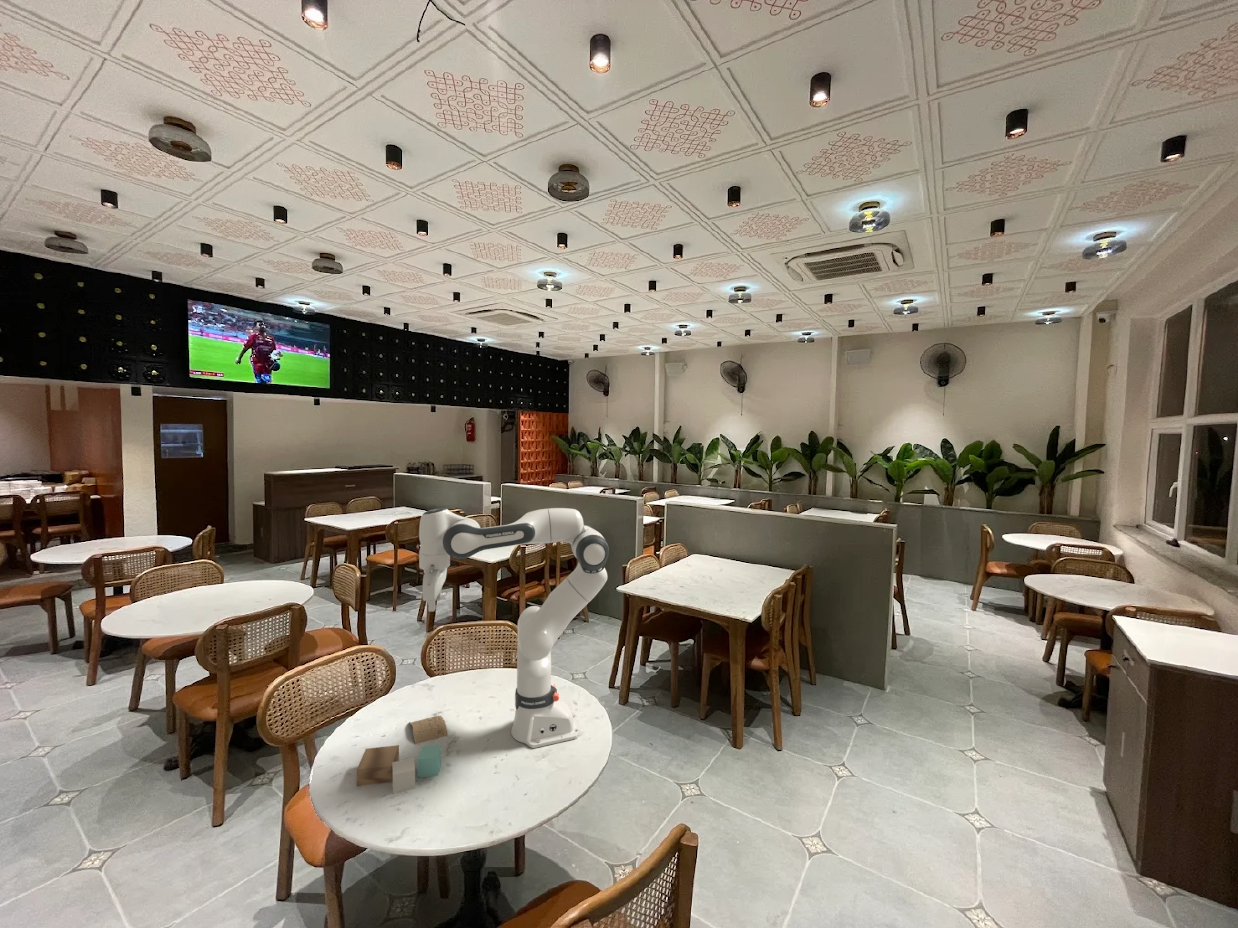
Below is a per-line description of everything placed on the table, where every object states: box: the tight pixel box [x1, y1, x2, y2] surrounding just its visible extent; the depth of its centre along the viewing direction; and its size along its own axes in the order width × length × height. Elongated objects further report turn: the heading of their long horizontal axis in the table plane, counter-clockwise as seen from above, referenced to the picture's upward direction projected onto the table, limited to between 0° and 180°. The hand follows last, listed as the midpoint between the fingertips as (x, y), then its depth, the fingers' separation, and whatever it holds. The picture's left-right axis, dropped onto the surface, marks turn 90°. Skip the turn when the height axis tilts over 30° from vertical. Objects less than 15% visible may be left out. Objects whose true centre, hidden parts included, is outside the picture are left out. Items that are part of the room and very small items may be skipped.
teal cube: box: [417, 744, 442, 778], centre depth 141 cm, size 6×6×6 cm
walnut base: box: [356, 744, 400, 787], centre depth 139 cm, size 9×9×5 cm
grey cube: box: [391, 756, 416, 795], centre depth 135 cm, size 6×6×6 cm
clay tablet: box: [408, 715, 448, 745], centre depth 160 cm, size 14×10×3 cm
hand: (434, 605), depth 150 cm, fingers open, 8 cm apart
